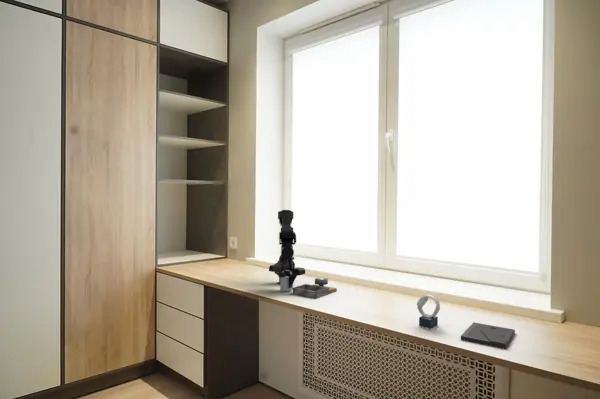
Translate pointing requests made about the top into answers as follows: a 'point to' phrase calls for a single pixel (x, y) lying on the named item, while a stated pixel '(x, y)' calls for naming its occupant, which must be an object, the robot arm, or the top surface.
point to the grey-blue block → (285, 284)
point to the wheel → (321, 281)
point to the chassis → (313, 290)
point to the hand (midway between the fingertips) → (286, 287)
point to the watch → (426, 319)
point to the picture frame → (488, 335)
